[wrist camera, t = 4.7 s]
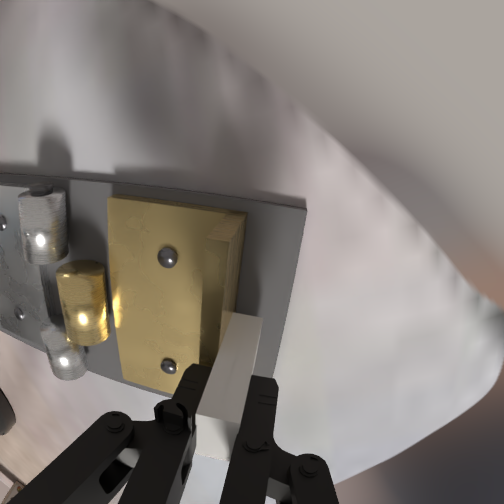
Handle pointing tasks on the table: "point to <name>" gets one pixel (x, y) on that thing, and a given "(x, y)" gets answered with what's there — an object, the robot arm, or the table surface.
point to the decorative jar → (13, 492)
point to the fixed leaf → (35, 271)
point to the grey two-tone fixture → (259, 213)
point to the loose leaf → (158, 287)
